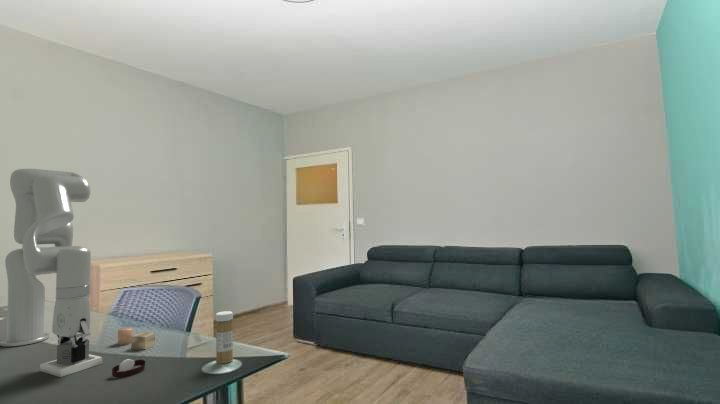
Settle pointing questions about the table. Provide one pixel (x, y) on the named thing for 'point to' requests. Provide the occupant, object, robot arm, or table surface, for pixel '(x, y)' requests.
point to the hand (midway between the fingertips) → (71, 358)
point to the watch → (128, 368)
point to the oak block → (143, 340)
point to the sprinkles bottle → (224, 337)
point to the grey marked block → (69, 352)
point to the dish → (69, 366)
